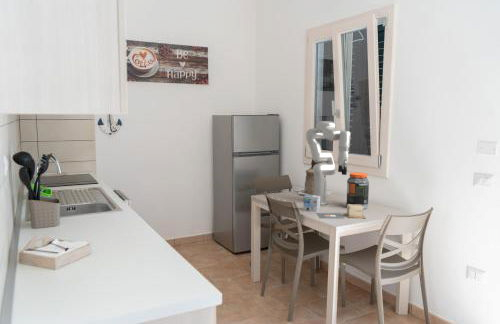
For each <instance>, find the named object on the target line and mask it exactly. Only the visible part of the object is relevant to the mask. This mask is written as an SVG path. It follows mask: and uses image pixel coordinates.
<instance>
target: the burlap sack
mask: <svg viewBox="0 0 500 324" xmlns="http://www.w3.org/2000/svg"><path fill="white" fill-rule="evenodd" d="M315 164H318V163H316V162H314V161H313V158H312V157H311V162H310V165H311V167H309V168H308V169H305V181H304V189H303V190H300V191H297V194H298V196H300V195H301V196H302V195H303V196H305V195H307V194H308V195H314V172H313V167H314V165H315ZM326 176H327V175H325V176H324V177H325V178H326ZM331 194H332V191H331V190H326V197H327V196H329V195H331Z"/></svg>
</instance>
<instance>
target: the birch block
mask: <svg viewBox="0 0 500 324" xmlns="http://www.w3.org/2000/svg"><path fill="white" fill-rule="evenodd" d="M346 207H347V208H346V213H347V215H348V216H349V217H362V215H363V216H364V214H363V211H364V209H363V206H361V205H351V204H347V203H346Z"/></svg>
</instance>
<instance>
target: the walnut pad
mask: <svg viewBox="0 0 500 324" xmlns="http://www.w3.org/2000/svg"><path fill="white" fill-rule="evenodd" d="M343 215H344V216H346V217H347V218H348V219H362V220H366V219H367V217H365V216H364V214H363V215H362V217H349V216H348V215H347V212H344V213H343Z"/></svg>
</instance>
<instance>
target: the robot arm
mask: <svg viewBox="0 0 500 324" xmlns="http://www.w3.org/2000/svg"><path fill="white" fill-rule="evenodd" d="M305 139H306V142H307V144H308V147H309V150H310V154H311V159H312V158H313V161H314V162H316V163H318V164H315V165H314V167H313V172H314V195H316V196H320V206H325V205H328V204H329V203H328V201H327V196H326V191H327V179H326V177H324V176H325V175H326V176H333V175H335V174H336V172H338V173H341V175H342V176H346V175H347V174H348V173H347V172H348V171H347V170H348V163H349V152H350V146H351V132H350V131H349V130H347V131H346V130H345V129H336V123H335V122H334V121H332V120H320V121H318V122H317V123H316V125H315V128H309V129H307V131H306V133H305ZM318 140H328V141H331V142H333V141H335V142H337V141H338V147H337V148H338V149H337V151H338V154H337V165H338V168H336V164H335V159H334V156H333V153H332V152H331V151H330V150H323V149H322V146H321V143H320V142H319V141H318ZM336 169H337V170H336Z"/></svg>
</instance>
